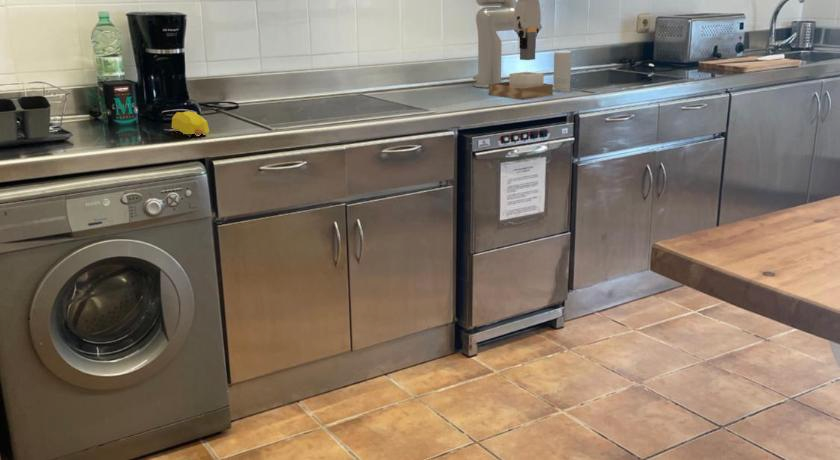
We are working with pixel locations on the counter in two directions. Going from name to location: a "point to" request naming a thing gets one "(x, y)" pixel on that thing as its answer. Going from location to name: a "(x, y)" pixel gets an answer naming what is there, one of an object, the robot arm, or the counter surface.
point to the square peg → (529, 45)
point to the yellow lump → (189, 123)
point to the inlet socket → (526, 79)
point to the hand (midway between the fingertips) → (527, 47)
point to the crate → (520, 91)
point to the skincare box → (562, 71)
